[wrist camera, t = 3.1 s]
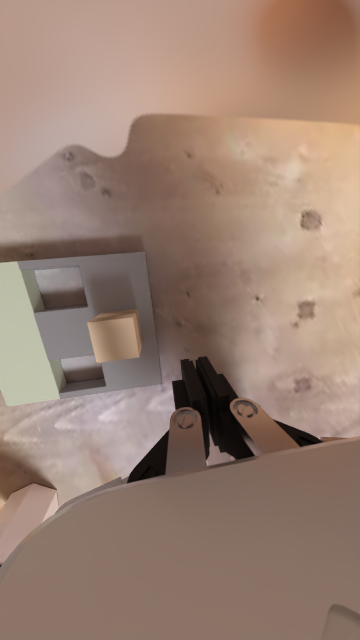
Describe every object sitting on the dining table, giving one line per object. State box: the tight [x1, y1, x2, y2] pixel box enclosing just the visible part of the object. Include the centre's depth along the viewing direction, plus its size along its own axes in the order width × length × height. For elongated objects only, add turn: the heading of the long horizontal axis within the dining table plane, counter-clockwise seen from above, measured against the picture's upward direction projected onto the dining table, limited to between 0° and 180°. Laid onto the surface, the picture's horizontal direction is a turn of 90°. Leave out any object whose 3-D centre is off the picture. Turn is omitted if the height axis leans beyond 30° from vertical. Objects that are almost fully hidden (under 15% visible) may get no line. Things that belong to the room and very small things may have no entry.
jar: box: [0, 483, 58, 567], centre depth 28 cm, size 9×8×12 cm
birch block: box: [87, 309, 143, 363], centre depth 23 cm, size 5×5×5 cm
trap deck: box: [0, 252, 162, 407], centre depth 25 cm, size 23×20×2 cm
